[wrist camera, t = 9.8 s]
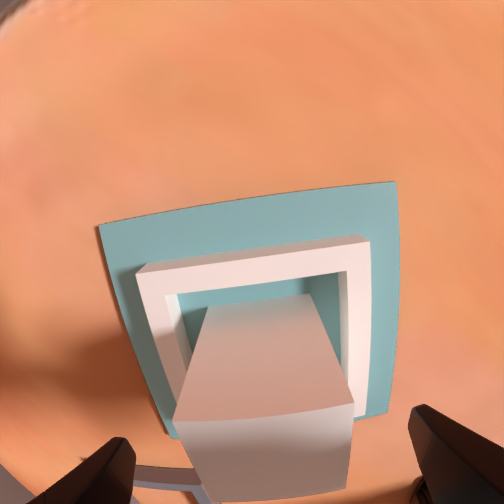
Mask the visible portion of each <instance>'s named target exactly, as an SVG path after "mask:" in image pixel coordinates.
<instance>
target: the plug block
mask: <svg viewBox="0 0 504 504" xmlns="http://www.w3.org/2000/svg"><path fill="white" fill-rule="evenodd" d="M354 405H355V402H354V399H353V397H352V394H351V392H350V389H349V387H348V384H347V382H346V379H345V377H344V374H343V372H342V369H341V367H340V364H339V362H338V359H337V357H336V354H335V352H334V350H333V347H332V345H331V342H330V340H329V337H328V335H327V333H326V330H325V328H324V326H323V323H322V321H321V318H320V316H319V314H318V311H317V309H316V307H315V304H314V302H313V300H312V297H311V295H310V293H304V294H297V295H290V296H283V297H276V298H269V299H262V300H254V301H247V302H239V303H231V304H223V305H214V306H208V309H207V312H206V315H205V318H204V321H203V324H202V328H201V331H200V334H199V337H198V340H197V343H196V346H195V349H194V352H193V355H192V359H191V362H190V365H189V368H188V371H187V374H186V378H185V381H184V384H183V387H182V390H181V394H180V397H179V400H178V403H177V407H176V410H175V413H174V416H173V420H172V423H173V425H174V427H175V430H176V432H177V434H178V436H179V438H180V440H181V442H182V445H183V447H184V449H185V451H186V453H187V455H188V457H189V459H190V461H191V463H192V465H193V467H194V469H195V471H196V473H197V474H198V476H199V478H200V480H201V482H202V484H203V486H204V487H205V489H206V491H207V493H208V495H209V496H210V498H211V500H212V502H249V501H266V500H277V499H287V498H295V497H303V496H309V495H316V494H322V493H327V492H333V491H338V490H342V489H345V488H346V481H347V474H348V466H349V458H350V450H351V440H352V430H353V419H354Z"/></svg>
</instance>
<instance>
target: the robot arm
mask: <svg viewBox="0 0 504 504" xmlns="http://www.w3.org/2000/svg"><path fill="white" fill-rule="evenodd" d="M408 431H409V434H410V437H411V440H412V444H413V447H414V450H415V454H416V457H417V461H418V464H419V467H420V470H421V472H422V475H423V478H422V480H421V482H420V484H419V486H418V488H417V490H416V492H415V494H414V495H413V497H412V499H411V501H410V503H409V504H504V448H503V447H501V446H499V445H497V444H495V443H494V442H492V441H490V440H488V439H486V438H484V437H483V436H481V435H479V434H477V433H475V432H474V431H472V430H470V429H468V428H466V427H465V426H463V425H461V424H459V423H457V422H456V421H454V420H452V419H450V418H449V417H447V416H445V415H443V414H442V413H440V412H438V411H437V410H435V409H433V408H431V407H430V406H428V405H426V404H421V405H418V406H415V407H413V408H412V410H411V414H410V418H409V422H408ZM135 464H136V454H135V452H134V450H133V448H132V447H131V445H130V443H129V442H128V440H127V439H126V438H122V437H114V438H112V439H111V440H110V441H108V442H107V443H106V444H105V445H103V446H102V447H101V448H100V449H98V450H97V451H96V452H95V453H93V454H92V455H91V456H90V457H88V458H87V459H86V460H85V461H83V462H82V463H81V464H79V465H78V466H77V467H76V468H74V469H73V470H72V471H70V472H69V473H68V474H67V475H65V476H64V477H63V478H61V479H60V480H59V481H57V482H56V483H55V484H53V485H52V486H51V487H49V488H48V489H47V490H45V492H42V493H41V494H40V495H38V496H37V497H36V498H34V499H33V500H31V501H30V502H28V503H26V504H130V501H131V496H132V490H133V481H134V472H135Z"/></svg>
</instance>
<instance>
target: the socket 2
mask: <svg viewBox="0 0 504 504" xmlns="http://www.w3.org/2000/svg"><path fill="white" fill-rule="evenodd" d="M99 230H100V235H101V239H102V244H103V248H104V252H105V256H106V260H107V264H108V268H109V272H110V276H111V279H112V283H113V287H114V290H115V294H116V297H117V300H118V304H119V307H120V310H121V313H122V317H123V320H124V323H125V326H126V329H127V332H128V335H129V338H130V341H131V343H132V346H133V349H134V352H135V355H136V357H137V360H138V363H139V365H140V368H141V371H142V373H143V376H144V378H145V381H146V383H147V386H148V388H149V390H150V393H151V395H152V398H153V400H154V402H155V405H156V407H157V409H158V411H159V414H160V416H161V418H162V420H163V422H164V424H165V427H166V429H167V431H168V433H169V435H170V437H171V439H180V438H179V436H178V434H177V432H176V430H175V427H174V425H173V423H172V420H173V416H174V413H175V410H176V407H177V403H178V400H179V397H180V394H181V390H182V387H183V384H184V381H185V378H186V374H187V371H188V368H189V365H190V362H191V359H192V355H193V352H194V349H195V346H196V343H197V340H198V337H199V334H200V331H201V328H202V324H203V321H204V318H205V315H206V312H207V309H208V306H214V305H223V304H231V303H239V302H247V301H254V300H262V299H269V298H276V297H283V296H290V295H297V294H304V293H310V295H311V297H312V300H313V302H314V304H315V307H316V309H317V311H318V314H319V316H320V318H321V321H322V323H323V326H324V328H325V330H326V333H327V335H328V337H329V340H330V342H331V345H332V347H333V350H334V352H335V354H336V357H337V359H338V362H339V364H340V367H341V369H342V372H343V374H344V377H345V379H346V382H347V384H348V387H349V389H350V392H351V394H352V397H353V399H354V402H355V405H354V419H353V421H356V420H361V419H365V418H369V417H373V416H377V415H381V414H384V413H387V412H388V406H389V400H390V394H391V387H392V380H393V372H394V363H395V354H396V343H397V331H398V316H399V293H400V235H399V213H398V198H397V185H396V182H394V181H390V182H378V183H368V184H357V185H347V186H338V187H329V188H320V189H311V190H303V191H295V192H287V193H280V194H272V195H265V196H258V197H251V198H244V199H237V200H231V201H224V202H218V203H212V204H206V205H200V206H194V207H188V208H182V209H177V210H171V211H166V212H160V213H155V214H149V215H144V216H139V217H134V218H129V219H124V220H119V221H114V222H109V223H105V224H101V225H99Z"/></svg>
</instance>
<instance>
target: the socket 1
mask: <svg viewBox="0 0 504 504" xmlns="http://www.w3.org/2000/svg"><path fill="white" fill-rule="evenodd" d="M133 486H136V487H143V488H152V489H161V490H172V491H188V492H192V494H193V496H194V497H195V499H196V500H197V502H198V503H199V504H221V502H212V500H211V498H210V496H209V495H208V493H207V491H206V489H205V487H204V486H203V484H202V482H201V480H200V478H199V476H198V474H197V473H196V471H195V469H178V468H162V467H150V466H140V465H135V472H134V481H133ZM130 504H140V503H139V502H138V501H137V500H136V499H135V498H134V496H133V495H132V496H131V501H130Z"/></svg>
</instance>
